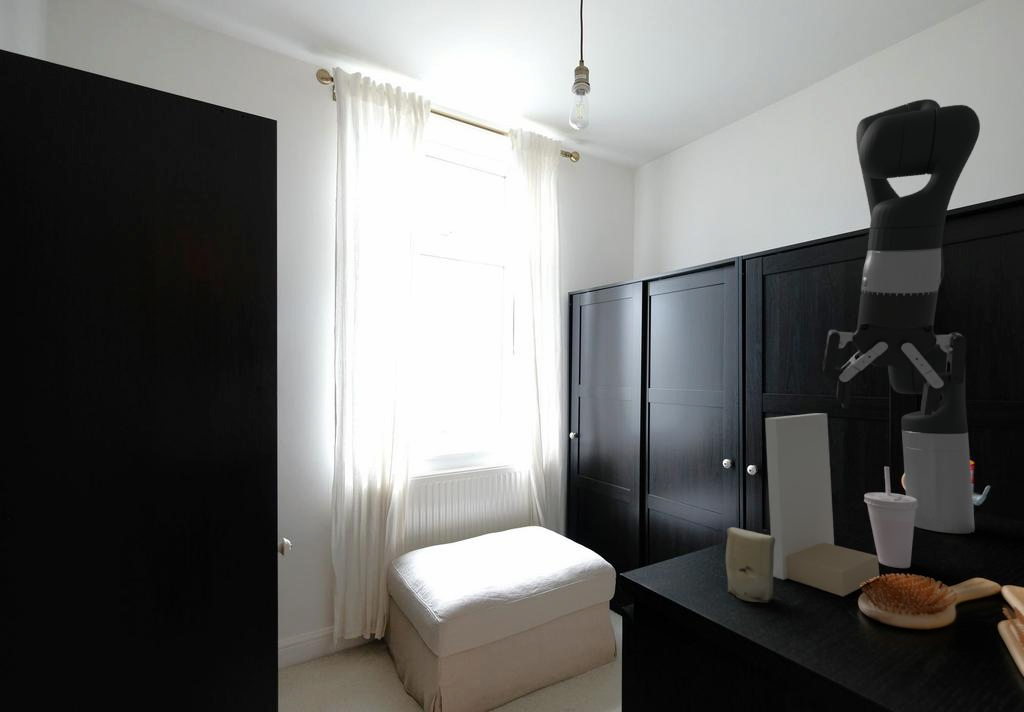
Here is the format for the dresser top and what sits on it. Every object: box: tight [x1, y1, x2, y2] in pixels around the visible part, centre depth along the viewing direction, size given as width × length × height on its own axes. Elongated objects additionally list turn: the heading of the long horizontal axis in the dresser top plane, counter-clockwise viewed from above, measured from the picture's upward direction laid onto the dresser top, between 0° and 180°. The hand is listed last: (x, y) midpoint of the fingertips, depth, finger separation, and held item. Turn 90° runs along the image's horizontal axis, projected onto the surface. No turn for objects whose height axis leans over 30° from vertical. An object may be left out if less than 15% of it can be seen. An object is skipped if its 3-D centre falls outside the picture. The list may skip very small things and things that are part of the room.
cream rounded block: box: [725, 526, 775, 604], centre depth 63 cm, size 6×5×8 cm
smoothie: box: [863, 466, 918, 569], centre depth 73 cm, size 6×6×14 cm
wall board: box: [764, 412, 880, 597], centre depth 69 cm, size 14×8×22 cm, turn 122°
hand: (883, 409), depth 65 cm, fingers open, 8 cm apart
